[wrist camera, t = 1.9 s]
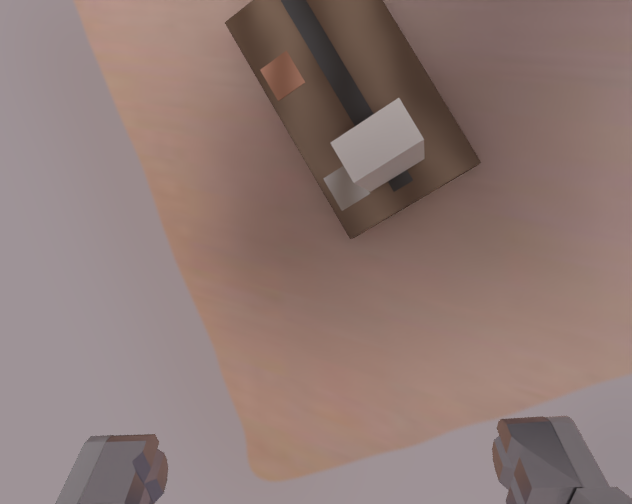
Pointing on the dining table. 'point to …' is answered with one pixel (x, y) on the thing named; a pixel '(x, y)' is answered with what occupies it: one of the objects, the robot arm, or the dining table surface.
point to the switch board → (348, 96)
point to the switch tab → (380, 146)
